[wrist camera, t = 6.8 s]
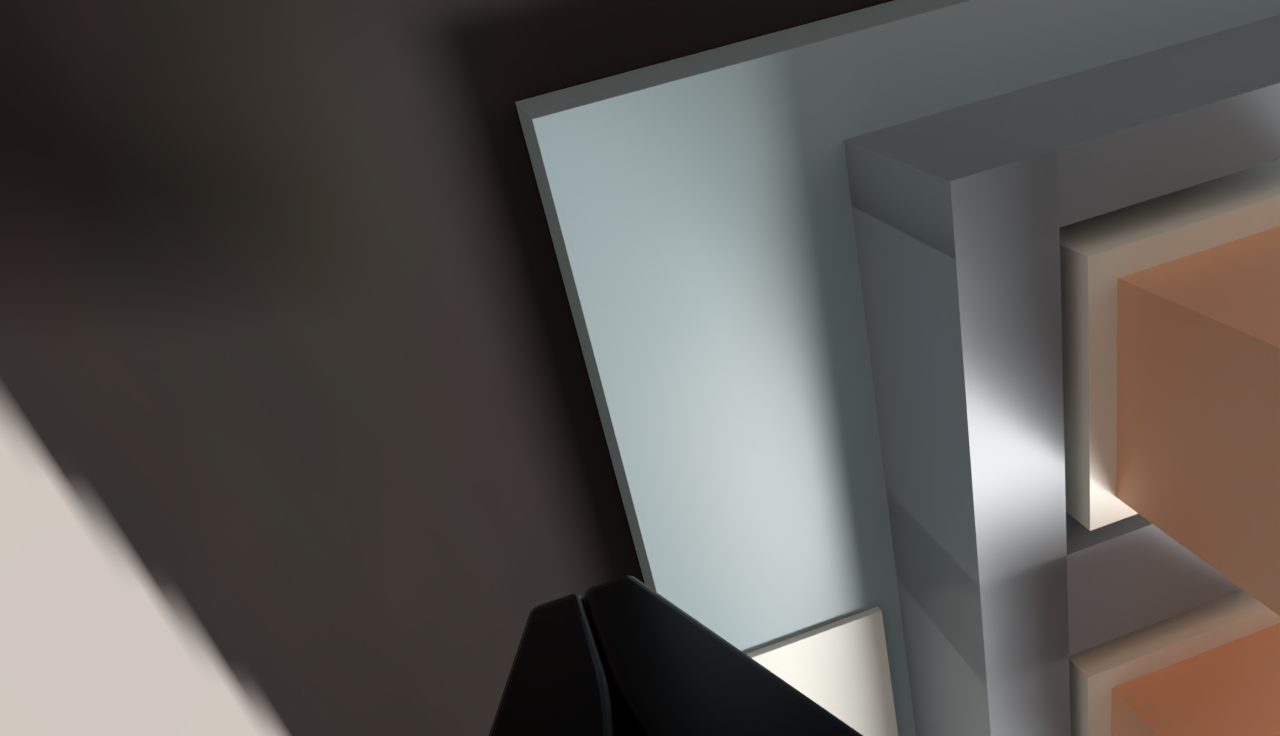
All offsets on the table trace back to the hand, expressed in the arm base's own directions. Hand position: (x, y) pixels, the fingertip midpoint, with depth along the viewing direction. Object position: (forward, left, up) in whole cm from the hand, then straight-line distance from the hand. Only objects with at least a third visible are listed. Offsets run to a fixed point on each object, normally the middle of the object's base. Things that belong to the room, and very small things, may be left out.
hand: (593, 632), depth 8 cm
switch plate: (-2, -8, -4) cm, 9 cm away
